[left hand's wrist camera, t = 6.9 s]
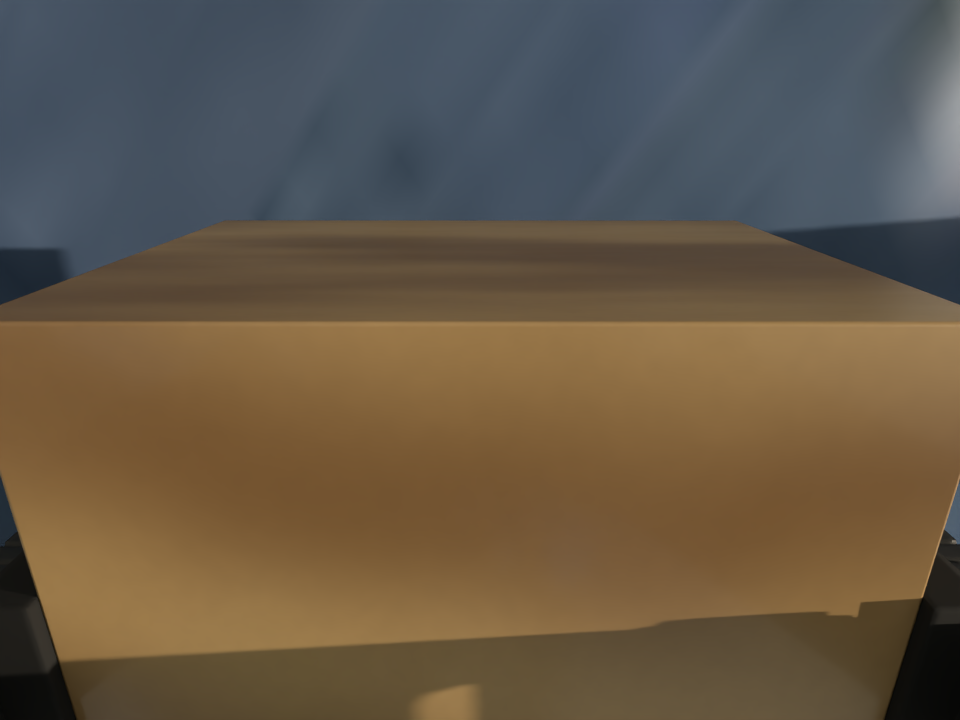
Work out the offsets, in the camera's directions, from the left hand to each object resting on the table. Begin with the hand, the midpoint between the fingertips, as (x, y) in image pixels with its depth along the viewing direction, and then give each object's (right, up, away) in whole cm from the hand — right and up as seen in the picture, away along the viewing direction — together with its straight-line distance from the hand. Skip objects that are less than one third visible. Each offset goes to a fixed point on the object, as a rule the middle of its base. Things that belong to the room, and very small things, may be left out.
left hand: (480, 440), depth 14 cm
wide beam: (0, -33, +13) cm, 36 cm away
